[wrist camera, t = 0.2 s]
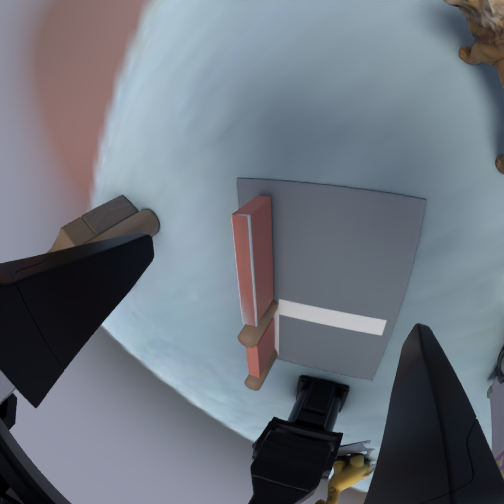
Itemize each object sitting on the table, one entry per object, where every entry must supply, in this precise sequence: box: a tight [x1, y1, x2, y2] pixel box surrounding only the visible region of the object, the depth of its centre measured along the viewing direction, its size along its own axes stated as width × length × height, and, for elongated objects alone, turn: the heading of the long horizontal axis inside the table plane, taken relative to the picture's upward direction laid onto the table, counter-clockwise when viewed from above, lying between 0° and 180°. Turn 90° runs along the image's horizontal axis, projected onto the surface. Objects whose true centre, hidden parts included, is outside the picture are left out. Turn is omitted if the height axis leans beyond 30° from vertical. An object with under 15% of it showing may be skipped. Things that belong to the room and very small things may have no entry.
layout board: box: [237, 178, 426, 380], centre depth 25 cm, size 21×15×1 cm
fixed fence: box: [238, 299, 278, 391], centre depth 28 cm, size 9×2×6 cm, turn 4°
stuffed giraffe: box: [315, 440, 376, 504], centre depth 33 cm, size 16×18×16 cm
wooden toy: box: [47, 195, 159, 253], centre depth 24 cm, size 16×7×25 cm, turn 143°
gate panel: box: [231, 196, 274, 327], centre depth 23 cm, size 10×1×4 cm, turn 4°
